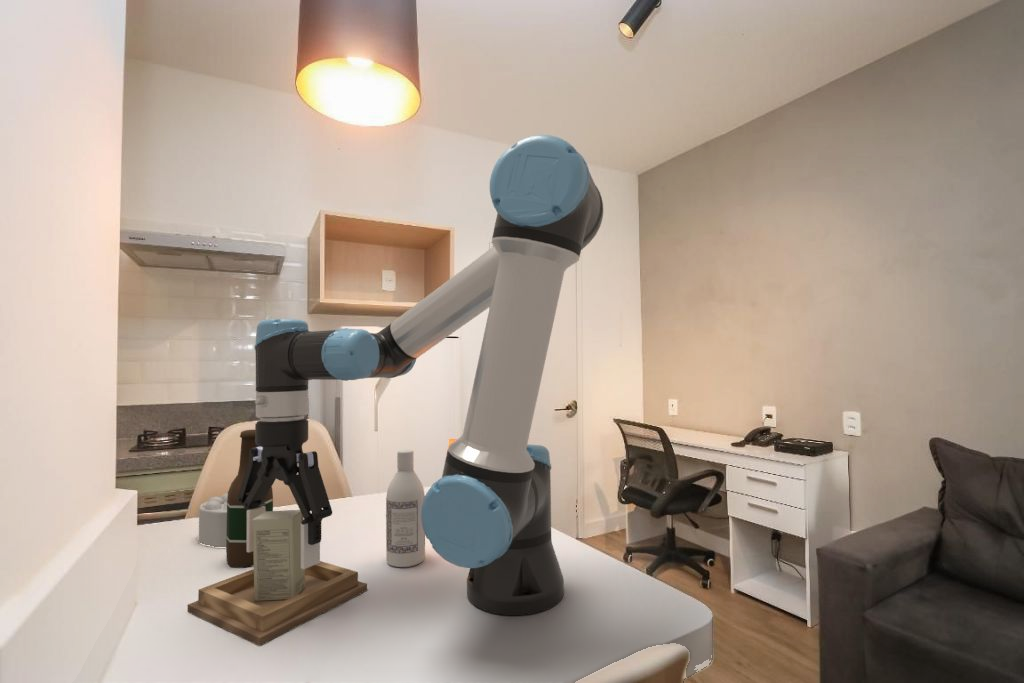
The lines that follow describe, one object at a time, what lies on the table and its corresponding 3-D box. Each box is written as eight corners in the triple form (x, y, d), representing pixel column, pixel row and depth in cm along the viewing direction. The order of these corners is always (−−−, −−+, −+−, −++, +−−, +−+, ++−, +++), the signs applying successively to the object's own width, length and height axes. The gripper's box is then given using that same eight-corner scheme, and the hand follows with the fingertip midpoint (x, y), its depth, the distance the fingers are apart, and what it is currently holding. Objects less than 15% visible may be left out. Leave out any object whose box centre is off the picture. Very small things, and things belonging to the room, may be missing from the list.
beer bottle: (216, 563, 91) (218, 432, 92) (255, 549, 97) (256, 427, 99) (243, 571, 87) (244, 434, 88) (281, 556, 94) (282, 428, 95)
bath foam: (402, 551, 95) (401, 446, 96) (432, 556, 92) (431, 448, 93) (378, 564, 89) (378, 452, 90) (410, 570, 86) (409, 455, 87)
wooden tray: (367, 590, 79) (367, 571, 79) (259, 645, 63) (259, 621, 64) (296, 567, 88) (296, 550, 88) (187, 611, 73) (187, 590, 73)
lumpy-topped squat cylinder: (224, 551, 97) (224, 506, 98) (184, 541, 103) (185, 499, 103) (270, 534, 106) (271, 493, 107) (232, 526, 112) (232, 487, 113)
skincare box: (306, 587, 78) (306, 508, 79) (294, 600, 74) (295, 517, 74) (264, 588, 78) (265, 509, 78) (251, 601, 73) (251, 518, 74)
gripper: (214, 417, 80) (212, 550, 79) (313, 424, 68) (313, 583, 66) (258, 413, 87) (257, 536, 86) (356, 419, 74) (357, 563, 73)
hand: (282, 557), depth 76 cm, fingers open, 13 cm apart
